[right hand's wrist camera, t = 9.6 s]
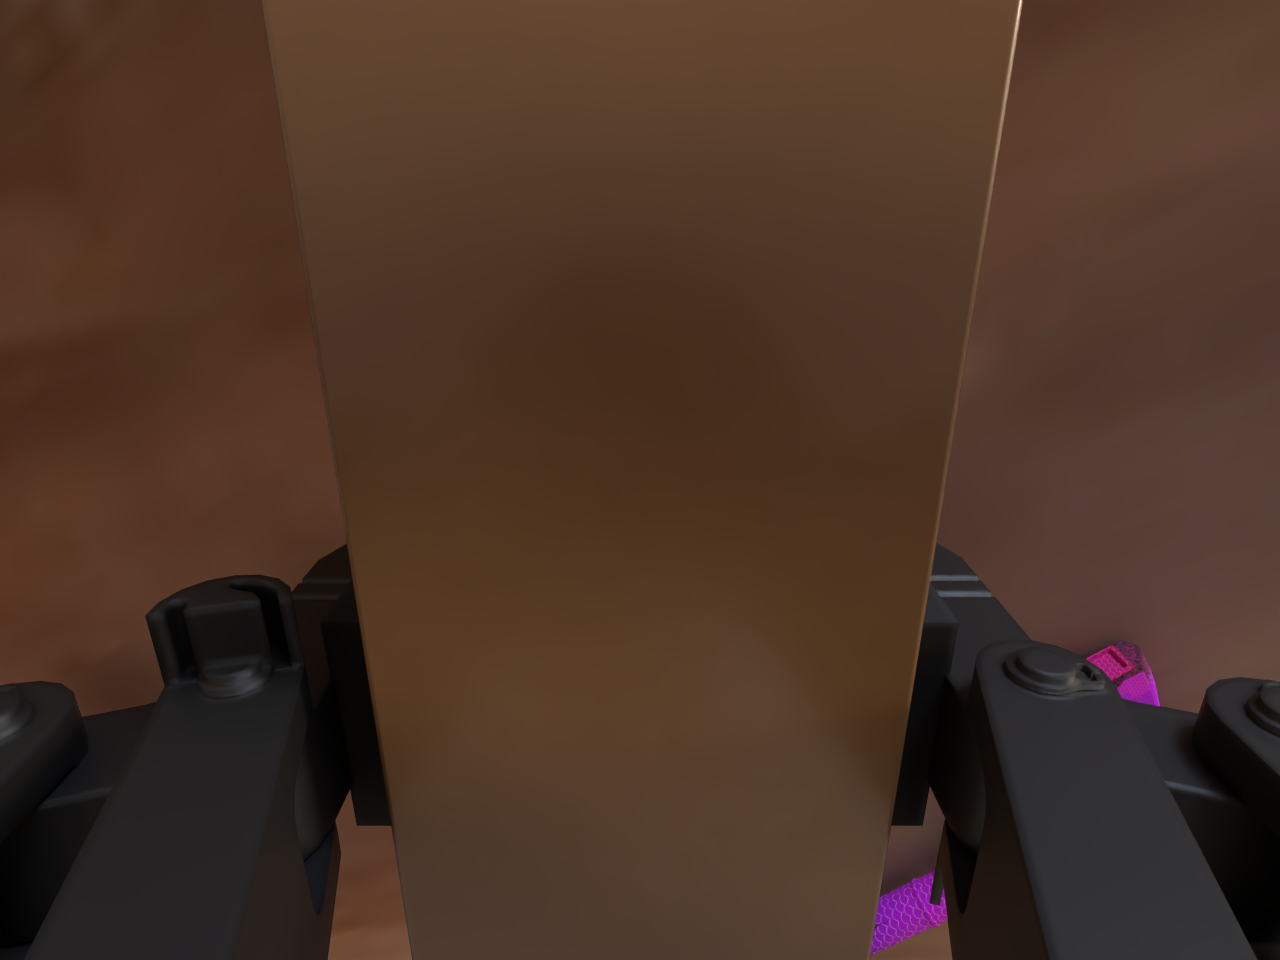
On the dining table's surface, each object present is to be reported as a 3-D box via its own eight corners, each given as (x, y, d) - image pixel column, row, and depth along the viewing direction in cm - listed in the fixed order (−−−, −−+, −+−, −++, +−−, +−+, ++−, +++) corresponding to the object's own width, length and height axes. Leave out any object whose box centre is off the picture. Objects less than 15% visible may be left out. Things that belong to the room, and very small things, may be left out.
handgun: (1123, 632, 29) (1155, 661, 27) (1203, 762, 31) (1237, 797, 29) (685, 871, 34) (687, 910, 32) (780, 970, 36) (788, 1012, 34)
